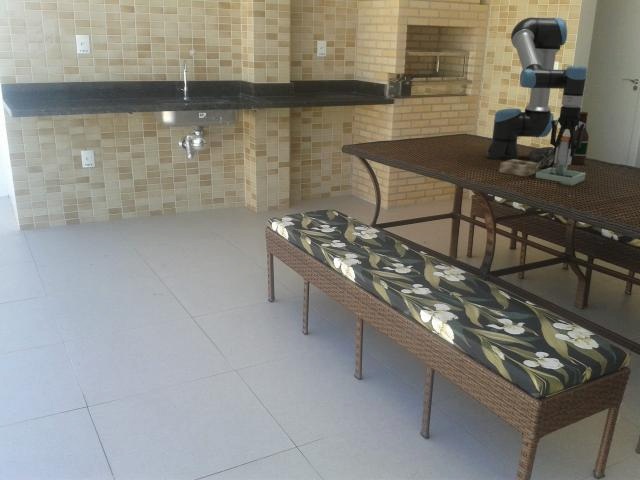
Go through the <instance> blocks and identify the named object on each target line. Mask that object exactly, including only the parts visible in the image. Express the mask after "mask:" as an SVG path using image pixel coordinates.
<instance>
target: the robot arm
mask: <svg viewBox="0 0 640 480" xmlns="http://www.w3.org/2000/svg"><path fill="white" fill-rule="evenodd" d="M567 37H568V27H567V23H566V21H565V20H564V19H563V18H560V17H557V18H556V17H526V18H524V19H522V20H521V21H519V22H518V23H516V25H515V26H514V27H513V29H512V32H511V35H510V41H511V44H512V46H513V48H515V49H516V53H517V55H518V59H519V62H520V64H521V69H522V70H521V71H520V76H519V84H520V86H521V87H522V88H528V89H530V94H529V104H527V106H525V108H524V111H522V110H521V109H520V108H505V109H500V110H499V109H498V110H497V111H496V112H495V115H494V120H493V128H492V129H493V130H492V139H491V143H490V145H489V147H488V150H487V151H486V157H487V158H488V159H492V160H493V159H494V160H498V161H499V160H500V161H508V160H511V159H515V160H520V159H519V157H520V151H519V147H518V138H519V137H520V138H523V137H524V138H530V137H531V138H536V139H537V138H545V137H547V136H548V135H549V134H550V133H551V134H550V141H549V142H550V143H549V144H550V145H551V146H552V147H553V148H554V154H555V161H554V164H557V158H558V151H559V144H560V137H562V136H564V134H565V132H566V130H568V131H569V137H570V140H571V148H570V149H569V151H568V158H567V164H566V165H568V166H569V165H572V164H571V159H572V157H574V155H575V149H576V148H579V147H581V143H582V137H583V132H584V128H585V127H586V128H587V122H586V123H582V122H580V119H579V117H580V112H582V108H581V106H582V105H583V104H582V103H583V97H584V91H585V87H586V86H585V85H586V81H587V74H588V73H587V71H588V69H587V67H586V66H579V65H569V66H567V68H566V69H565V68H564V69H554V67H555V61H556V56H557V55H556V54H557V53H558V52H559V51H560V50H561V46H564V45H565V44H566V42H567V40H568V39H567ZM551 89H559V90H560V89H561V90H563V91H562V98H561V106H560V112H559V117H558V118H557V119H555V117H554V113H552V112H551V111H552V110H551V108H550V107H549V100H550V94H551ZM578 124H579V131H578V137H577V142H576V137H575V130H576V128H577V126H578ZM558 125H560V127H559V131H558ZM557 132H558V134H557Z"/></svg>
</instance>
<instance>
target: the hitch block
mask: <svg viewBox="0 0 640 480" xmlns="http://www.w3.org/2000/svg"><path fill="white" fill-rule="evenodd" d="M538 166H539V163H535V162H530V161H526V160H521V159H517V160H515V159H511V160H504V161H502V162H500V163H499V173H502V174H507V175H508V174H509V175H515V176H521V177H528V176H532V175H534V174H535V175H536V173H537V172H539V167H538Z"/></svg>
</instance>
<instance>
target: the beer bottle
mask: <svg viewBox="0 0 640 480" xmlns="http://www.w3.org/2000/svg"><path fill="white" fill-rule="evenodd" d="M588 115H589V112H588V111H587V112H586V111H580V117H579V119H580V122H582V123H586V124H587V122H588V121H587V120H588ZM578 131H579V124H578V125H577V126H576V128H575V137H576V142H577V137H578ZM588 144H589V133H588V131H587V126H586V127H585V128H584V132H583V137H582V143H581V147H579V148H576V149H575V155H574V157H572V159H571V164H570V165H573V166H583V165H585V163H586V158H587V151H588V147H589V145H588Z"/></svg>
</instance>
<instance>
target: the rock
mask: <svg viewBox="0 0 640 480" xmlns="http://www.w3.org/2000/svg"><path fill="white" fill-rule="evenodd" d="M528 158H529V160H530V161H529V162H535V163H539V166H538V169H543V170H545V169H548V168H554V166H555V163H554V161H555V154H554V146H548V147H547V146H544V147H540V148H534V149H532V150H531V151H530V152H529V153H528Z"/></svg>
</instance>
